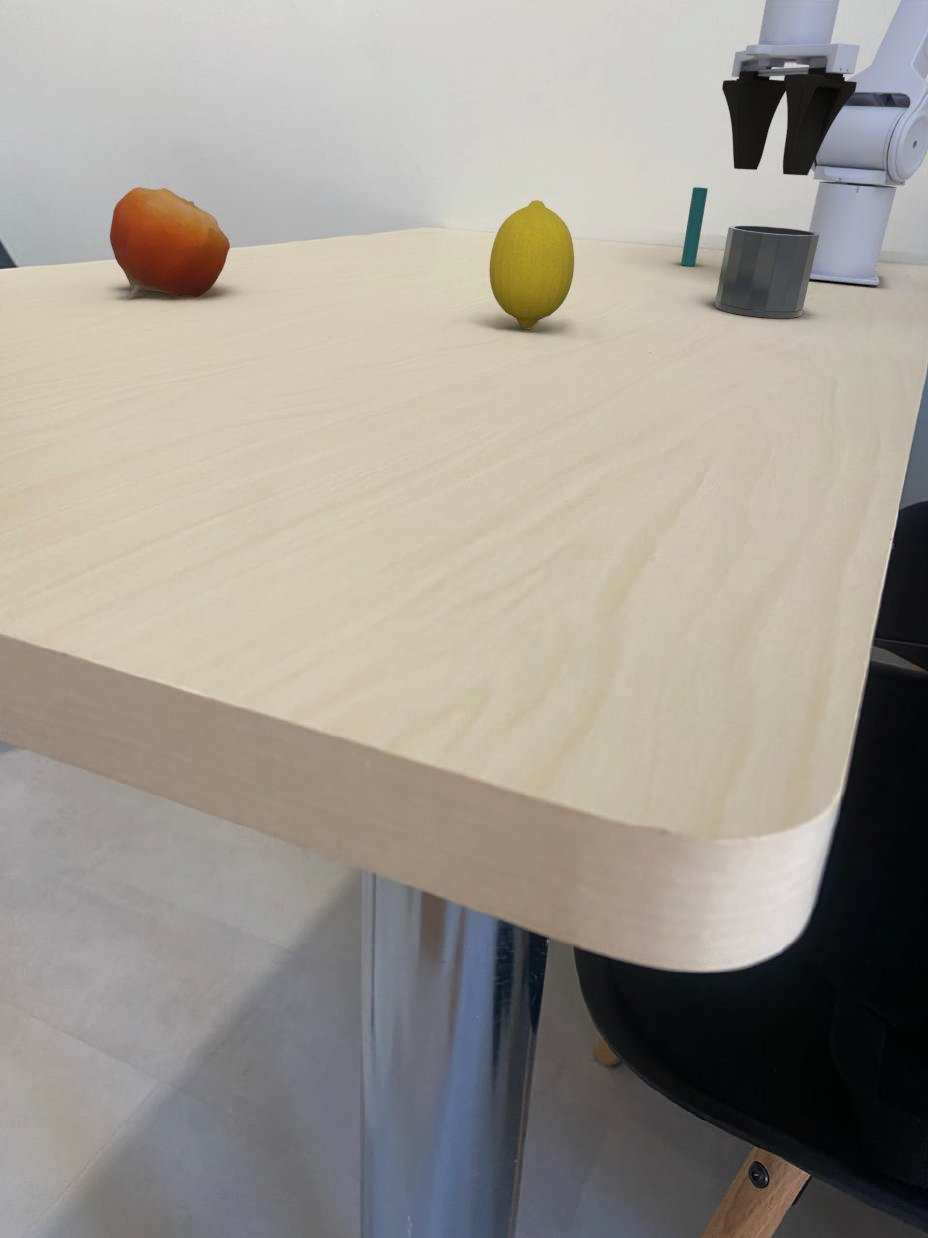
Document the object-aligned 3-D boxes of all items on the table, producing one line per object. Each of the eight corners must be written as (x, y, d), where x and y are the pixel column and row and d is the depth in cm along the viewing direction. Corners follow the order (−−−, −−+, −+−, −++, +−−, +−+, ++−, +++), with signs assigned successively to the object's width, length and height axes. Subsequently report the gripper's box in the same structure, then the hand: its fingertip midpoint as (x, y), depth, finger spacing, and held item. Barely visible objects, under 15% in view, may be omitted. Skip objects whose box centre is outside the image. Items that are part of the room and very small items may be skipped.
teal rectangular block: (681, 263, 98) (694, 186, 94) (695, 264, 97) (708, 187, 94) (679, 265, 96) (692, 187, 93) (694, 266, 96) (706, 188, 92)
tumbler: (719, 299, 77) (733, 223, 74) (802, 308, 75) (820, 230, 73) (710, 311, 72) (725, 229, 69) (799, 321, 70) (818, 237, 67)
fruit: (80, 263, 66) (128, 161, 65) (181, 318, 71) (228, 224, 69) (91, 282, 60) (144, 169, 58) (201, 341, 65) (253, 238, 63)
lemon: (562, 340, 59) (576, 205, 55) (479, 332, 60) (486, 199, 56) (571, 325, 64) (584, 200, 60) (493, 318, 64) (501, 194, 61)
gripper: (714, -12, 78) (687, 165, 84) (819, -33, 66) (778, 175, 72) (784, -4, 80) (753, 168, 86) (898, -23, 68) (852, 178, 74)
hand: (769, 171), depth 79 cm, fingers open, 7 cm apart
